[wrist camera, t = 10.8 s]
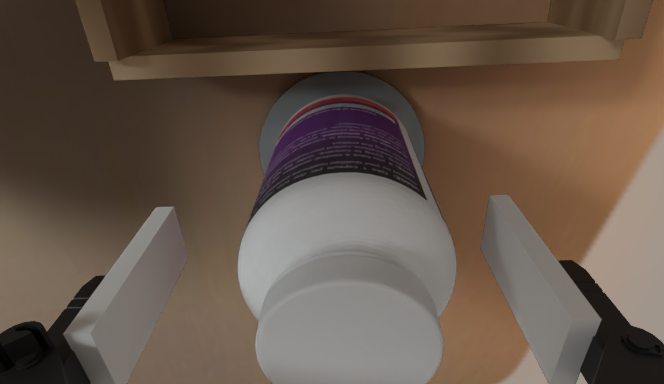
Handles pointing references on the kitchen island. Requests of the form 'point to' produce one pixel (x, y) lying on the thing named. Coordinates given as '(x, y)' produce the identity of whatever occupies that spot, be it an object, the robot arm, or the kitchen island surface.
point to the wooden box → (354, 42)
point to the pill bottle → (346, 252)
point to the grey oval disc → (335, 85)
